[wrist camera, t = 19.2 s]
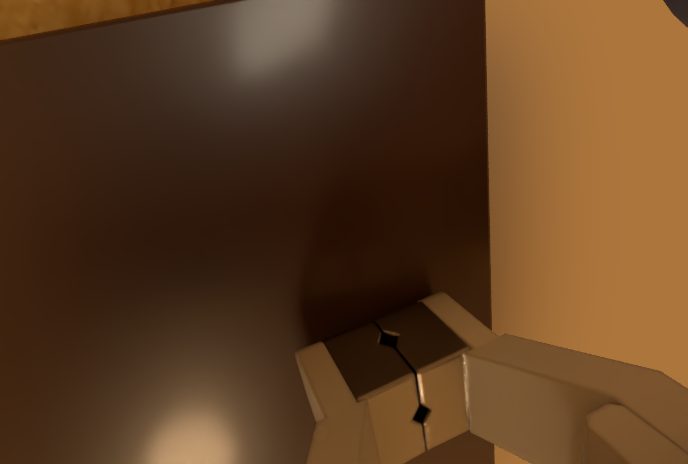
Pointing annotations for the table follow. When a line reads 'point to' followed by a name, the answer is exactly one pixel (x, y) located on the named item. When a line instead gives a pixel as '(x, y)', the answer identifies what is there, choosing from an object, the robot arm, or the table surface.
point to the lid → (228, 217)
